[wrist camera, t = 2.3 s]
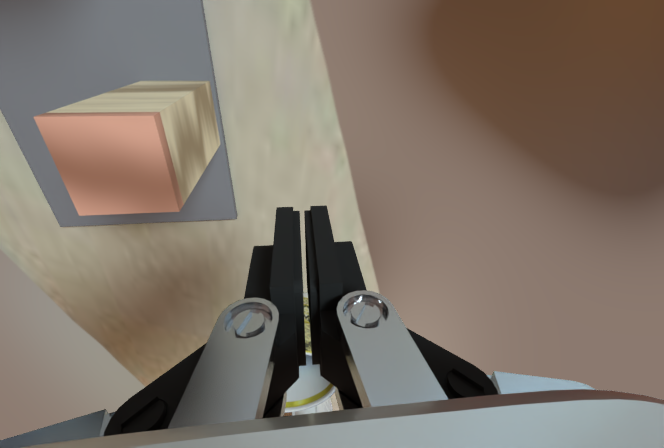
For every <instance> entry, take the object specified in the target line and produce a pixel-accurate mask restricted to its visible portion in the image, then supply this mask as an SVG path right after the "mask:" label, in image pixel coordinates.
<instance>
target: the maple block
mask: <svg viewBox="0 0 664 448" xmlns="http://www.w3.org/2000/svg"><path fill="white" fill-rule="evenodd" d="M34 119H35V122H36V124H37V126H38V128H39V130H40V132H41V135H42V137H43V139H44V141H45V143H46V145H47V147H48V150H49V152H50V154H51V156H52V158H53V160H54V163H55V165H56V167H57V169H58V171H59V173H60V175H61V178H62V180H63V182H64V184H65V186H66V188H67V191H68V193H69V195H70V197H71V199H72V201H73V203H74V206H75V208H76V210H77V212H78V214H79V216H86V215H110V214H134V213H158V212H180V210H181V208H182V207H183V205H184V203H185V202H186V200H187V198H188V197H189V195H190V193H191V192H192V190H193V189H194V187H195V185H196V184H197V182H198V180H199V179H200V177H201V175H202V174H203V172H204V170H205V169H206V167H207V166H208V164H209V162H210V161H211V159H212V157H213V156H214V154H215V152H216V151H217V149H218V147H219V146H220V138H219V132H218V126H217V121H216V115H215V109H214V103H213V97H212V91H211V86H210V81H139V82H136V83H133V84H130V85H127V86H124V87H121V88H118V89H115V90H112V91H109V92H106V93H103V94H100V95H97V96H94V97H91V98H88V99H85V100H82V101H79V102H76V103H73V104H70V105H67V106H64V107H61V108H58V109H55V110H52V111H49V112H46V113H43V114H40V115H37V116H34Z"/></svg>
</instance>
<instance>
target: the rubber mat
mask: <svg viewBox="0 0 664 448" xmlns="http://www.w3.org/2000/svg"><path fill="white" fill-rule="evenodd" d="M139 81H210V86H211V91H212V97H213V103H214V109H215V115H216V121H217V126H218V132H219V138H220V146H219V147H218V149H217V151H216V152H215V154H214V156H213V157H212V159H211V161H210V162H209V164H208V166H207V167H206V169H205V170H204V172H203V174H202V175H201V177H200V179H199V180H198V182H197V184H196V185H195V187H194V189H193V190H192V192H191V193H190V195H189V197H188V198H187V200H186V202H185V203H184V205H183V207H182V208H181V210H180V212H158V213H134V214H110V215H86V216H79V214H78V212H77V210H76V208H75V206H74V203H73V201H72V199H71V197H70V195H69V193H68V191H67V188H66V186H65V184H64V182H63V180H62V178H61V175H60V173H59V171H58V169H57V167H56V165H55V163H54V160H53V158H52V156H51V154H50V152H49V150H48V147H47V145H46V143H45V141H44V139H43V137H42V135H41V132H40V130H39V128H38V126H37V124H36V122H35V119H34V116H37V115H40V114H43V113H46V112H49V111H52V110H55V109H58V108H61V107H64V106H67V105H70V104H73V103H76V102H79V101H82V100H85V99H88V98H91V97H94V96H97V95H100V94H103V93H106V92H109V91H112V90H115V89H118V88H121V87H124V86H127V85H130V84H133V83H136V82H139ZM0 109H1V111H2V113H3V115H4V117H5V119H6V121H7V123H8V125H9V127H10V129H11V131H12V133H13V135H14V137H15V139H16V141H17V143H18V145H19V147H20V149H21V151H22V152H23V154H24V156H25V158H26V160H27V162H28V164H29V166H30V168H31V170H32V172H33V174H34V176H35V178H36V180H37V182H38V184H39V186H40V188H41V190H42V192H43V194H44V196H45V197H46V199H47V201H48V203H49V205H50V207H51V209H52V211H53V213H54V215H55V217H56V219H57V221H58V223H59V225H60V227H67V226H90V225H112V224H135V223H157V222H180V221H202V220H225V219H237V211H236V205H235V198H234V192H233V186H232V180H231V174H230V168H229V162H228V155H227V149H226V143H225V137H224V131H223V125H222V119H221V112H220V106H219V100H218V94H217V88H216V82H215V76H214V69H213V63H212V57H211V51H210V45H209V39H208V33H207V26H206V20H205V14H204V8H203V2H202V0H0Z"/></svg>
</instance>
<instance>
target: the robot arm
mask: <svg viewBox="0 0 664 448" xmlns="http://www.w3.org/2000/svg"><path fill="white" fill-rule="evenodd" d="M305 240H306V269H307V289H308V305H309V320H310V336H311V351H312V365H317V364H320V376H322V377H323V378H325V379H326V380H327V381H329V382H330V383H331V384H332V385H334V388H335V396H336V399H337V403H338V406H339V411H329V412H320V413H310V414H301V415H292V416H284V413H285V407H286V401H287V390H288V389H289V388H290V387H291V386H292V385H293V384H294V383H295V382H296V381H297V380H298V378H299V366H306V347H305V324H304V301H303V279H302V257H301V235H300V213H299V211H293V207H279V208H277V210H276V221H275V232H274V244H273V245H269V246H254V248H253V253H252V258H251V264H250V269H249V275H248V280H247V286H246V291H245V297H244V299H242V300H239V301H237V302H235V303H233V304H231V305H229V306H228V307H227V308H226V309H225V310H224V311H223V312H222V313H221V315H220V316H219V318H218V320H217V322H216V324H215V326H214V329H213V331H212V333H211V335H210V337H209V339H208V342H207V343H206V344H205V345H203V346H202V347H200V348H199V349H198V350H196V351H195V352H194V353H192V354H191V355H189V356H188V357H187V358H185V359H184V360H182V361H181V362H180V363H178V364H177V365H175V366H174V367H173V368H171V369H170V370H169V371H167V372H166V373H164V374H163V375H162V376H160V377H159V378H157V379H156V380H155V381H153V382H152V383H150V384H149V385H148V386H146V387H145V388H144V389H142V390H141V391H139V392H138V393H137V394H135V395H134V396H132V397H131V398H130V399H129V400H128V401H126V402H125V403H124V404H123V405H122V406H121V407H119V409H118V410H117V411H116V412H113V413H108V412H107V410H106V409H104V410H101V411H98V412H95V413H91V414H88V415H84V416H81V417H78V418H74V419H71V420H68V421H64V422H61V423H57V424H54V425H51V426H47V427H44V428H41V429H37V430H34V431H31V432H27V433H24V434H21V435H17V436H14V437H11V438H7V439H4V440H0V448H664V400H662V399H657V398H654V397H649V396H646V395H639V394H632V393H625V392H618V391H607V390H596V389H594V388H592V387H590V386H588V385H586V384H583V383H579V382H575V381H569V380H561V379H553V378H545V377H537V376H529V375H520V374H512V373H504V372H496V371H494V372H493V374H492V376H490V375H486V374H485V373H484V372H483V371H481V370H480V369H478V368H477V367H476V366H474V365H472V364H471V363H469V362H467V361H465V360H463V359H461V358H460V357H458V356H456V355H454V354H452V353H451V352H449V351H447V350H445V349H443V348H442V347H440V346H438V345H436V344H434V343H433V342H431V341H429V340H427V339H425V338H424V337H422V336H420V335H418V334H416V333H414V332H413V331H411V330H409V329H407V328H406V327H405V325H404V323H403V322H402V320H401V318H400V317H399V315H398V313H397V312H396V310H395V308H394V307H393V305H392V304H391V303H390V301H389V300H388V299H387V298H385V297H384V296H382V295H381V294H378V293H375V292H372V291H367V290H366V287H365V284H364V280H363V277H362V273H361V270H360V267H359V263H358V260H357V257H356V253H355V250H354V247H353V244H352V242H351V241H349V242H334V239H333V234H332V229H331V224H330V220H329V215H328V210H327V206H311V209H310V210H309V211H305Z"/></svg>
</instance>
